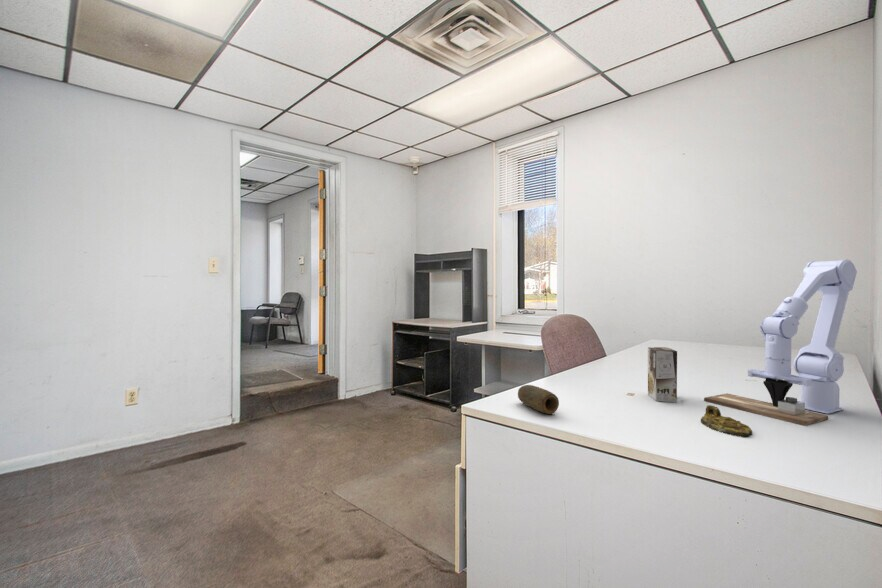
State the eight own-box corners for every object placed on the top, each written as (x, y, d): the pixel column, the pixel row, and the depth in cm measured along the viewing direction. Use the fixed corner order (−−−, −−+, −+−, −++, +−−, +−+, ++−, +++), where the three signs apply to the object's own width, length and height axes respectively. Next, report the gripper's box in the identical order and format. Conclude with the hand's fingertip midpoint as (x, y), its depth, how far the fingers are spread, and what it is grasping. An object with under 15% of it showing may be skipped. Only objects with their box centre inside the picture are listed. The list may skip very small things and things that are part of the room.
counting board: (726, 396, 135) (727, 393, 135) (828, 419, 111) (828, 415, 111) (704, 400, 130) (704, 397, 130) (804, 425, 106) (805, 421, 106)
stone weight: (563, 414, 116) (563, 391, 116) (543, 417, 114) (543, 394, 114) (532, 401, 130) (532, 380, 130) (513, 403, 128) (513, 382, 128)
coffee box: (677, 402, 128) (678, 351, 128) (655, 401, 129) (655, 350, 129) (667, 395, 137) (668, 346, 137) (647, 394, 138) (647, 346, 138)
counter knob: (787, 409, 117) (787, 395, 117) (804, 413, 113) (805, 398, 113) (777, 411, 114) (778, 397, 114) (795, 415, 111) (795, 401, 111)
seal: (766, 442, 98) (720, 421, 113) (768, 423, 98) (722, 404, 113) (729, 439, 98) (688, 418, 113) (731, 419, 98) (690, 401, 113)
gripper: (742, 355, 121) (741, 401, 122) (801, 364, 108) (801, 415, 108) (755, 354, 124) (755, 398, 125) (815, 362, 111) (815, 411, 111)
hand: (777, 406), depth 117 cm, fingers closed
